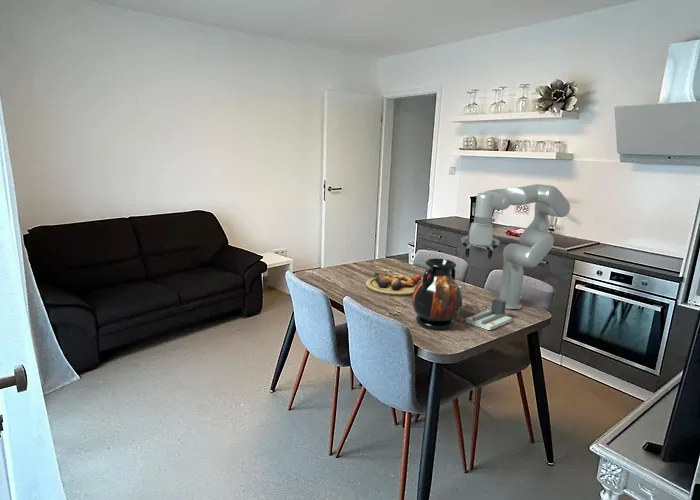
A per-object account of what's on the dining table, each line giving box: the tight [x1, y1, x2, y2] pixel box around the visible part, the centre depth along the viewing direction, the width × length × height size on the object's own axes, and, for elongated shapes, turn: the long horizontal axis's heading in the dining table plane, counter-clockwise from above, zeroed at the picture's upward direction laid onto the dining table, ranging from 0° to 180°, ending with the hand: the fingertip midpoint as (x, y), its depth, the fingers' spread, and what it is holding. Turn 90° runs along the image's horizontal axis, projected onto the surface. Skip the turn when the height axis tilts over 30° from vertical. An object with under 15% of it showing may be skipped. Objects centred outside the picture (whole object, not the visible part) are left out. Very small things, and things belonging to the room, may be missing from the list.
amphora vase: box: [411, 258, 463, 331], centre depth 185 cm, size 22×22×28 cm
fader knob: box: [490, 297, 506, 315], centre depth 196 cm, size 3×5×7 cm, turn 41°
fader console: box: [465, 309, 513, 331], centre depth 192 cm, size 18×12×3 cm, turn 131°
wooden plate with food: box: [364, 271, 422, 297], centre depth 235 cm, size 32×32×8 cm
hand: (478, 257), depth 197 cm, fingers open, 9 cm apart
